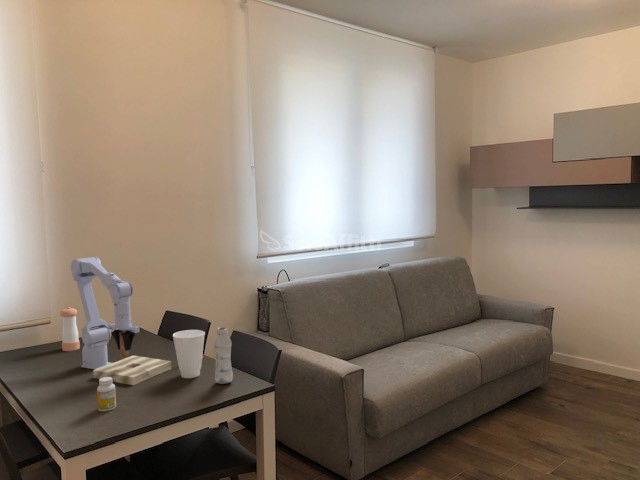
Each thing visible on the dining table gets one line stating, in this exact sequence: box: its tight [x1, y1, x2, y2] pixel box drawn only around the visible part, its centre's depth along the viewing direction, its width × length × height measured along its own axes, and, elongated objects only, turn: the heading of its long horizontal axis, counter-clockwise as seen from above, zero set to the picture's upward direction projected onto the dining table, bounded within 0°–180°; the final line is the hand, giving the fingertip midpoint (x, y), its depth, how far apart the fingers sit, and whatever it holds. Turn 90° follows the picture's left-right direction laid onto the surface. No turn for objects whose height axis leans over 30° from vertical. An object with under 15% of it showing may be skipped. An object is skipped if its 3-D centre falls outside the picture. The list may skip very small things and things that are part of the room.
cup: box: [172, 329, 206, 379], centre depth 203 cm, size 12×12×16 cm
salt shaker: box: [59, 306, 81, 352], centre depth 241 cm, size 7×7×19 cm
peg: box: [119, 332, 130, 359], centre depth 204 cm, size 3×3×10 cm
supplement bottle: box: [96, 377, 117, 412], centre depth 172 cm, size 5×5×10 cm
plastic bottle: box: [213, 326, 234, 385], centre depth 193 cm, size 6×7×20 cm
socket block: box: [92, 355, 172, 386], centre depth 207 cm, size 20×20×3 cm
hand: (124, 349), depth 204 cm, fingers closed on peg, 3 cm apart
